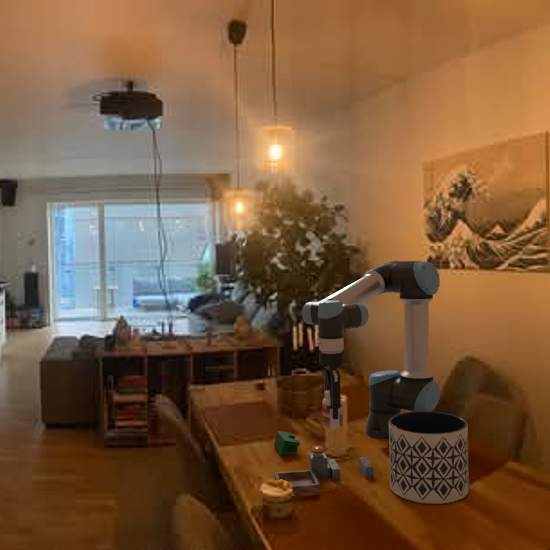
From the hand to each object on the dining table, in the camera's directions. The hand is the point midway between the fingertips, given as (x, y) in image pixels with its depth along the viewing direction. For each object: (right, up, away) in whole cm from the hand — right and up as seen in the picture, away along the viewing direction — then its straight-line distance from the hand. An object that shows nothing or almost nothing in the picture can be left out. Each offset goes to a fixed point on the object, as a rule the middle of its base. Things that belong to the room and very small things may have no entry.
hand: (332, 425), depth 197 cm
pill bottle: (0, -1, 0) cm, 1 cm away
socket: (+3, -16, +4) cm, 17 cm away
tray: (-11, -17, -5) cm, 21 cm away
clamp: (-13, -16, +27) cm, 34 cm away
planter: (+27, -17, -10) cm, 33 cm away
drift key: (-4, -15, +3) cm, 16 cm away
